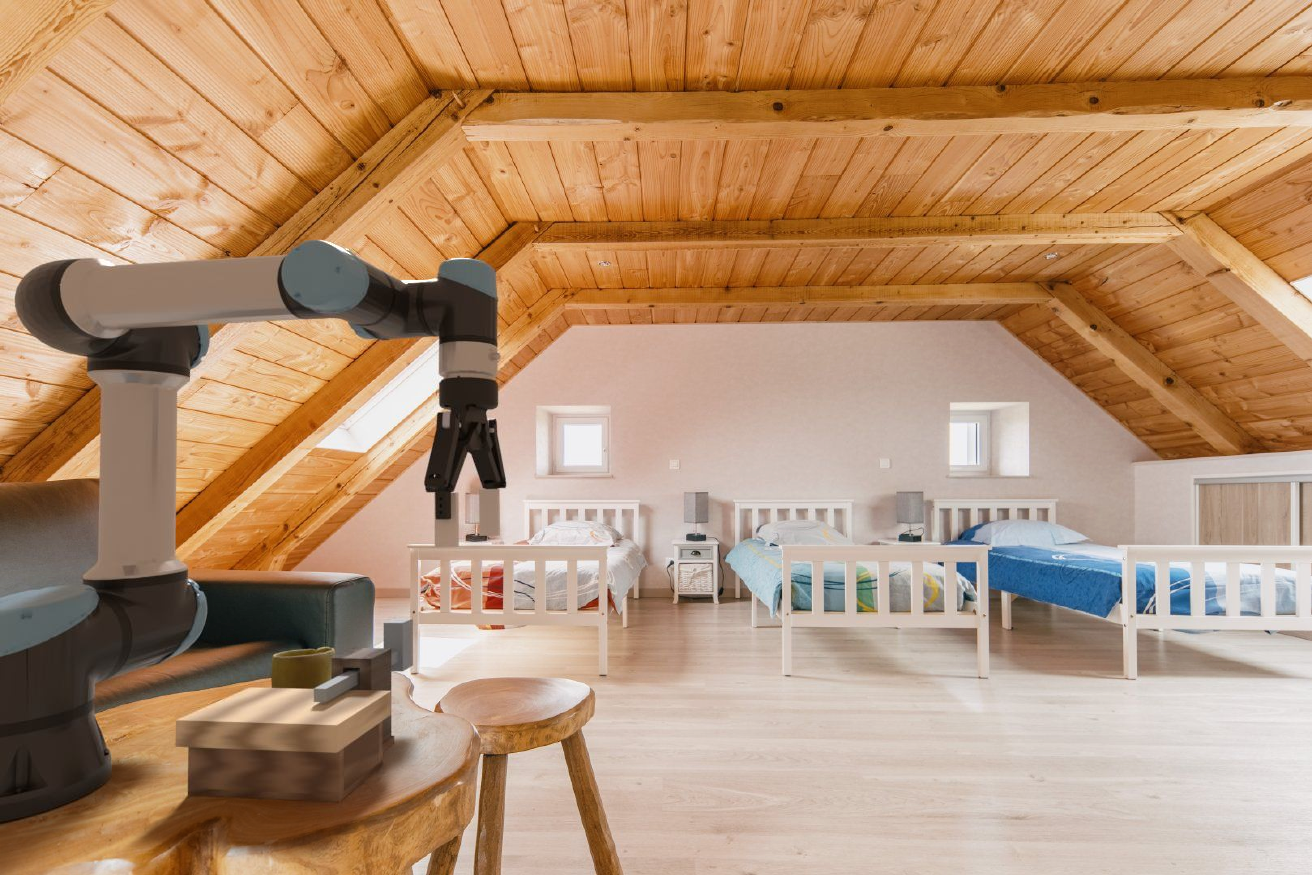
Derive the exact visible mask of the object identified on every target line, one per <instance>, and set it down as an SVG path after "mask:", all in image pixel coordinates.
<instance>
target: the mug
mask: <svg viewBox="0 0 1312 875" xmlns="http://www.w3.org/2000/svg"><path fill="white" fill-rule="evenodd" d="M335 656H336V651H335V648H334V647H329V646H322V647H318V648H317V649H315V648H307V649H306V648H304V649H293V650H286V651H282V652H278V653H275V654H273V655H272V659H271V670H270V671H271V672H270V679H271V688H294V689H314V688H316V687H318V686H320V685H322V684H324V683H326V682H328V681H330V680H331V664H332V658H333V657H335Z"/></svg>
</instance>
